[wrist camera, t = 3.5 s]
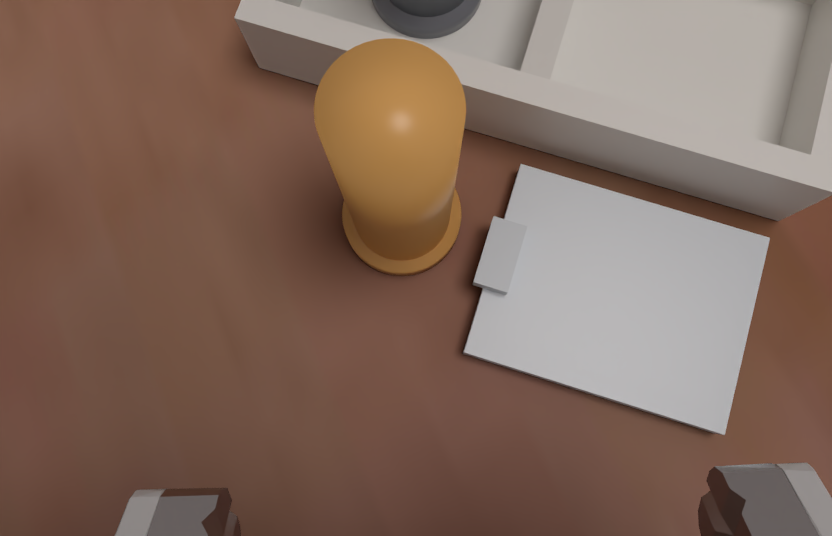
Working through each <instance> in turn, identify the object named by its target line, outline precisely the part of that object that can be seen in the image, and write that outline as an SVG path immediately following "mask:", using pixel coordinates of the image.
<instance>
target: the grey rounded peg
mask: <svg viewBox="0 0 832 536" xmlns="http://www.w3.org/2000/svg"><path fill="white" fill-rule="evenodd" d="M372 2H373V5H374V7H375V9H376V11H377V13H378V14H379V16H380V17H381V18H382V20H383V21H384V22H385V23H386V24H387V25H389V26H390V27H391V28H393V29H394V30H396V31H397V32H399V33H401V34H404V35H406V36H409V37H414V38H420V39H433V38H440V37H443V36H447V35H449V34H452V33H454V32H456V31H457V30H459V29H461V28H462V27H463V26H465V25H466V24H467V23H468V22H469V21H470V20H471V19H472V17H473V16H474V15H475V13H476V11H477V10H478V8H479V5H480V3H481V0H372Z"/></svg>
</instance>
